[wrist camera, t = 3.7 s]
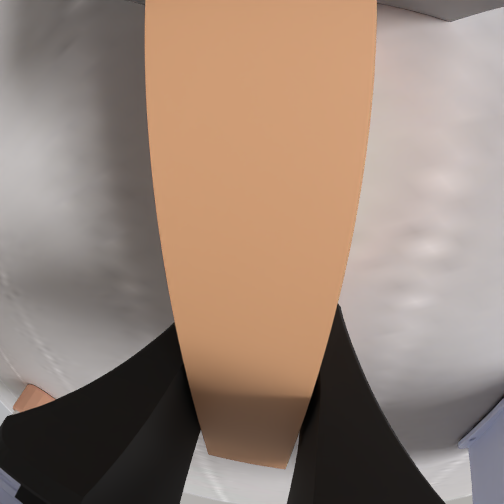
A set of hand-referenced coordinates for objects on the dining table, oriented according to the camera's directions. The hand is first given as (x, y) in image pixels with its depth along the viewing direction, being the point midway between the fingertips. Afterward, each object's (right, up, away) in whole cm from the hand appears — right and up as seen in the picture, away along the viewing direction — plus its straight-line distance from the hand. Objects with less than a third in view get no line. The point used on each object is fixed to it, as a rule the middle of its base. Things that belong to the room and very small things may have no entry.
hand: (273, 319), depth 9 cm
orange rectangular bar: (0, +5, -2) cm, 5 cm away
